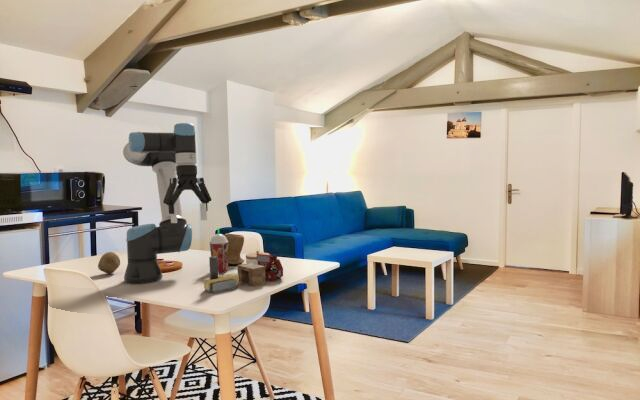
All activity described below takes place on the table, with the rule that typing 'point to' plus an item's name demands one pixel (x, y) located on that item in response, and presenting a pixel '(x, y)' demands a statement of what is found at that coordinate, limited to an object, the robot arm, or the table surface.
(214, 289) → the channel
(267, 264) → the toy fire truck
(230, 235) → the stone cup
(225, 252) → the smoothie
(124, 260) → the table surface
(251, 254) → the lidded jar
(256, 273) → the socket
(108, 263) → the natural sponge
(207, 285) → the brass block with handle
